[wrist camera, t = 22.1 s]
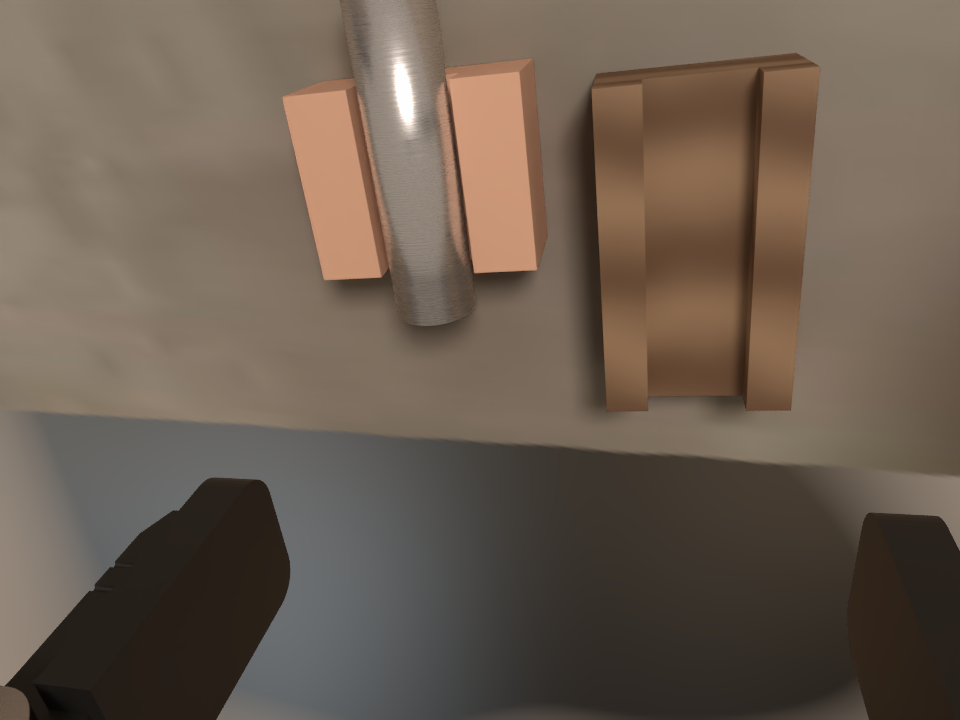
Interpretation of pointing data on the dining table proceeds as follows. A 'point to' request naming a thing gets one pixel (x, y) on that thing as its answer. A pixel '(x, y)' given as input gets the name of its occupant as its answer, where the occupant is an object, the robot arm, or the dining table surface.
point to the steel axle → (412, 155)
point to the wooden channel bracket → (703, 227)
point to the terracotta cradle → (481, 163)
